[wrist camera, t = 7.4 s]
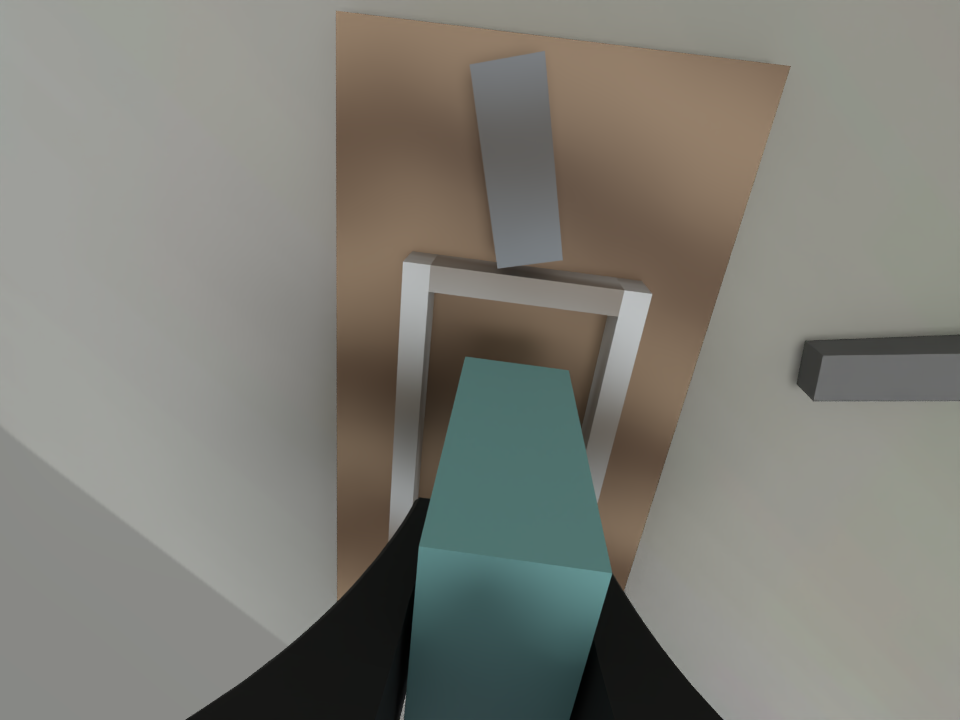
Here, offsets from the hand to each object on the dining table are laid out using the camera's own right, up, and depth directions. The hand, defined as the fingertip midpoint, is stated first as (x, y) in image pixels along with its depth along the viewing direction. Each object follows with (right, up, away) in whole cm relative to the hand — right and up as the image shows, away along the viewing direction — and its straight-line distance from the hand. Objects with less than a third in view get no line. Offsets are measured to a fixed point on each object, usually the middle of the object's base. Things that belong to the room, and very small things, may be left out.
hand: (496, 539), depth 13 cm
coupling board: (0, +3, +7) cm, 7 cm away
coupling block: (0, +2, +2) cm, 3 cm away
